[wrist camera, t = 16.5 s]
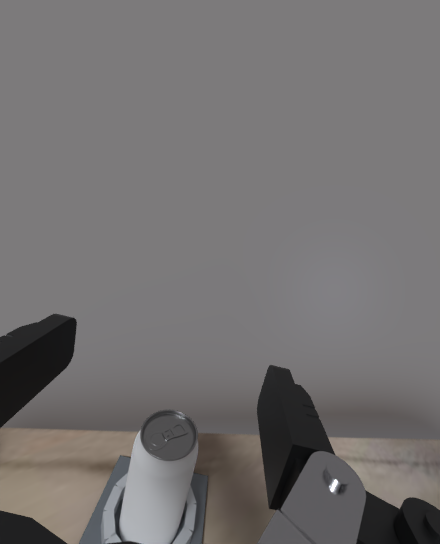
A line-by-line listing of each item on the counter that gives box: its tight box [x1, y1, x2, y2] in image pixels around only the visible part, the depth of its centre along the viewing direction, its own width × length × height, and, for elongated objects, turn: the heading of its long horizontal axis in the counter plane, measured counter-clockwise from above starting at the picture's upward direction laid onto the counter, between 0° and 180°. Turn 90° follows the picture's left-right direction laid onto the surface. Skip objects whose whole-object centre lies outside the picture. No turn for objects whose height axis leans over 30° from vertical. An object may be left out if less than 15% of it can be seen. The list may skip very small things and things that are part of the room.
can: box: [119, 410, 198, 544], centre depth 26 cm, size 6×6×12 cm
